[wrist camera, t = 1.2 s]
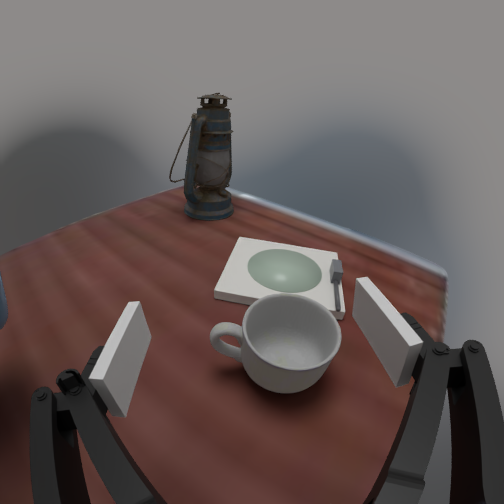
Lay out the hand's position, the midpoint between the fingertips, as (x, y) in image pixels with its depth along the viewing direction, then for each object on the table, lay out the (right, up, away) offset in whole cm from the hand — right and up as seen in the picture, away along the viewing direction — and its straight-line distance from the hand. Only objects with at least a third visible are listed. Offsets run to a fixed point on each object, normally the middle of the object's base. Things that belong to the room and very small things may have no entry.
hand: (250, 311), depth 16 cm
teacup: (+2, -11, +17) cm, 20 cm away
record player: (+6, -1, +34) cm, 34 cm away
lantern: (-12, +14, +57) cm, 59 cm away
